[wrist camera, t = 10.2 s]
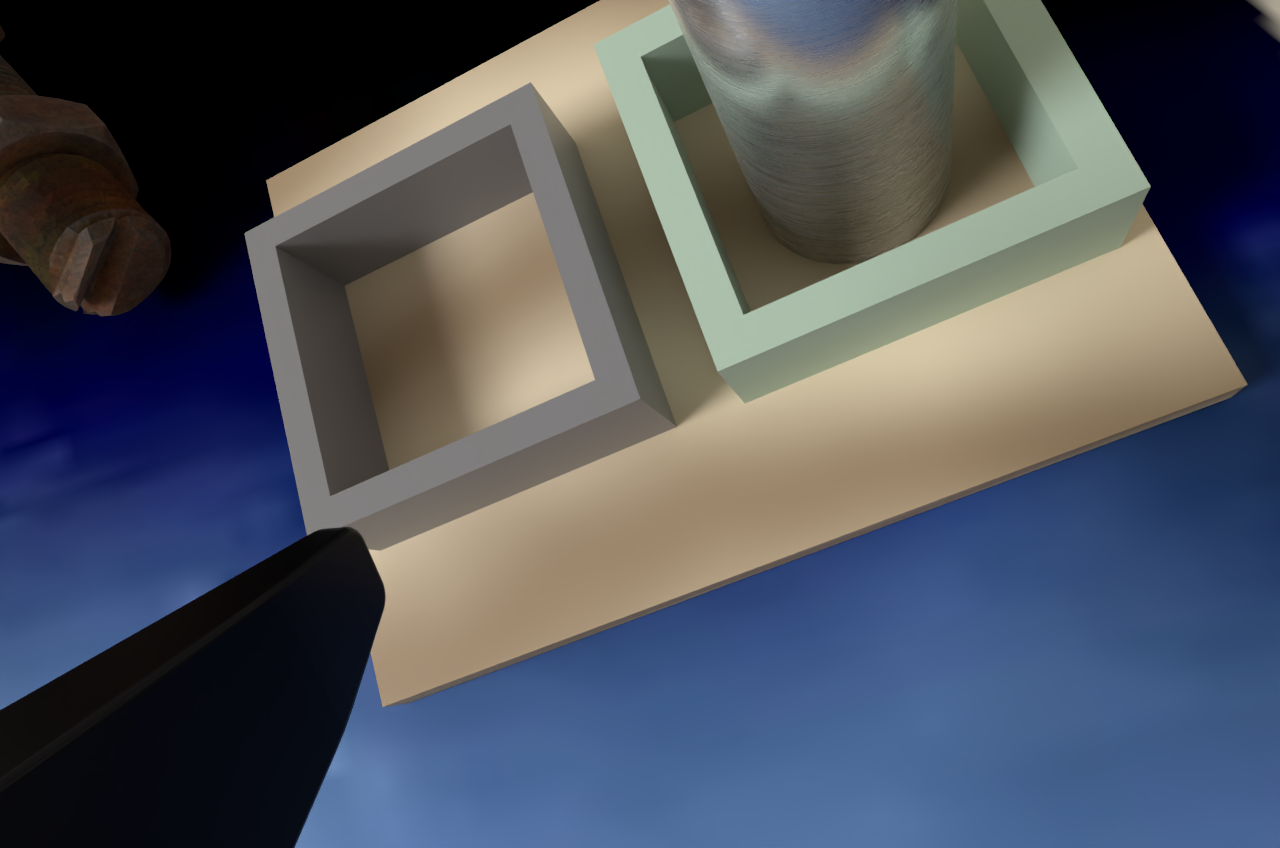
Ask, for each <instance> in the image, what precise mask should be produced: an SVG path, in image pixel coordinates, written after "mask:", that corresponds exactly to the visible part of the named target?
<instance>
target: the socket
mask: <svg viewBox="0 0 1280 848" xmlns="http://www.w3.org/2000/svg"><path fill="white" fill-rule="evenodd" d="M956 42H957V44H958V46H959V48H960V50H961V51H962V53H963V55H964V57H965V59H966V61H967V62H968V64H969V66H970V68H971V70H972V72H973V74H974V75H975V77H976V79H977V81H978V83H979V85H980V86H981V88H982V90H983V92H984V94H985V96H986V98H987V99H988V101H989V103H990V105H991V107H992V109H993V110H994V112H995V114H996V116H997V118H998V120H999V122H1000V123H1001V125H1002V127H1003V129H1004V131H1005V133H1006V134H1007V136H1008V138H1009V140H1010V142H1011V144H1012V146H1013V147H1014V149H1015V151H1016V153H1017V155H1018V157H1019V158H1020V160H1021V162H1022V164H1023V166H1024V168H1025V169H1026V171H1027V173H1028V175H1029V177H1030V179H1031V181H1032V182H1033V184H1034V186H1035V187H1034V188H1031V189H1029V190H1027V191H1025V192H1022V193H1020V194H1018V195H1016V196H1013V197H1011V198H1009V199H1006V200H1004V201H1002V202H1000V203H997V204H995V205H993V206H990V207H988V208H986V209H984V210H981V211H979V212H977V213H975V214H972V215H970V216H968V217H965V218H963V219H961V220H959V221H956V222H954V223H952V224H949V225H947V226H945V227H943V228H940V229H938V230H936V231H934V232H931V233H929V234H927V235H924V236H922V237H920V238H918V239H915V240H913V241H911V242H908V243H906V244H904V245H902V246H899V247H897V248H895V249H893V250H890V251H888V252H886V253H883V254H881V255H879V256H877V257H874V258H872V259H870V260H867V261H865V262H863V263H861V264H858V265H856V266H854V267H851V268H849V269H847V270H845V271H842V272H840V273H838V274H836V275H833V276H831V277H829V278H826V279H824V280H822V281H820V282H817V283H815V284H813V285H810V286H808V287H806V288H804V289H801V290H799V291H797V292H795V293H792V294H790V295H788V296H785V297H783V298H781V299H779V300H776V301H774V302H772V303H769V304H767V305H765V306H763V307H760V308H758V309H756V310H754V311H751V312H750V309H749V307H748V305H747V302H746V300H745V297H744V295H743V292H742V290H741V287H740V285H739V282H738V280H737V277H736V275H735V272H734V270H733V267H732V265H731V262H730V260H729V257H728V255H727V252H726V250H725V247H724V245H723V242H722V240H721V237H720V235H719V232H718V230H717V227H716V225H715V222H714V220H713V217H712V215H711V212H710V210H709V208H708V205H707V203H706V200H705V198H704V195H703V193H702V190H701V188H700V185H699V183H698V180H697V178H696V175H695V173H694V170H693V168H692V165H691V163H690V160H689V158H688V155H687V153H686V150H685V148H684V145H683V143H682V140H681V138H680V135H679V133H678V130H677V128H676V125H675V123H674V122H675V121H677V120H679V119H681V118H683V117H685V116H687V115H689V114H691V113H693V112H695V111H697V110H699V109H701V108H703V107H705V106H707V105H709V104H711V103H712V101H711V98H710V96H709V94H708V91H707V89H706V87H705V84H704V82H703V80H702V77H701V75H700V73H699V70H698V68H697V66H696V64H695V61H694V59H693V57H692V54H691V52H690V50H689V47H688V45H687V43H686V40H685V38H684V36H683V33H682V31H681V29H680V26H679V24H678V22H677V20H676V17H675V15H674V13H673V10H672V8H671V6H670V4H669V5H667V6H665V7H664V8H662V9H660V10H658V11H656V12H654V13H652V14H650V15H648V16H647V17H645V18H643V19H641V20H639V21H637V22H635V23H633V24H631V25H630V26H628V27H626V28H624V29H622V30H620V31H618V32H616V33H614V34H613V35H611V36H609V37H607V38H605V39H603V40H601V41H599V42H597V43H595V44H594V48H595V50H596V53H597V56H598V58H599V61H600V64H601V66H602V69H603V71H604V74H605V77H606V79H607V82H608V85H609V87H610V90H611V93H612V95H613V98H614V100H615V103H616V106H617V108H618V111H619V114H620V116H621V119H622V121H623V124H624V127H625V129H626V132H627V135H628V137H629V140H630V143H631V145H632V148H633V150H634V153H635V156H636V158H637V161H638V164H639V166H640V169H641V171H642V174H643V177H644V179H645V182H646V185H647V187H648V190H649V193H650V195H651V198H652V200H653V203H654V206H655V208H656V211H657V214H658V216H659V219H660V221H661V224H662V227H663V229H664V232H665V235H666V237H667V240H668V243H669V245H670V248H671V250H672V253H673V256H674V258H675V261H676V264H677V266H678V269H679V271H680V274H681V277H682V279H683V282H684V285H685V287H686V290H687V293H688V295H689V298H690V300H691V303H692V306H693V308H694V311H695V314H696V316H697V319H698V321H699V324H700V327H701V329H702V332H703V335H704V337H705V340H706V343H707V345H708V348H709V350H710V353H711V356H712V358H713V361H714V364H715V366H716V369H717V371H718V373H719V374H720V375H721V376H722V377H723V379H724V380H725V381H726V382H727V383H728V384H729V386H730V387H731V388H732V389H733V390H734V391H735V393H736V394H737V395H738V396H739V397H740V399H741V400H742V401H743V402H744V403H748V402H750V401H753V400H755V399H757V398H760V397H762V396H765V395H767V394H769V393H772V392H774V391H777V390H779V389H781V388H784V387H786V386H789V385H791V384H793V383H796V382H798V381H801V380H803V379H805V378H808V377H810V376H813V375H815V374H817V373H820V372H822V371H825V370H827V369H829V368H832V367H834V366H837V365H839V364H842V363H844V362H846V361H849V360H851V359H854V358H856V357H858V356H861V355H863V354H866V353H868V352H870V351H873V350H875V349H878V348H880V347H882V346H885V345H887V344H890V343H892V342H894V341H897V340H899V339H902V338H904V337H906V336H909V335H911V334H914V333H916V332H918V331H921V330H923V329H926V328H928V327H930V326H933V325H935V324H938V323H940V322H942V321H945V320H947V319H950V318H952V317H955V316H957V315H959V314H962V313H964V312H967V311H969V310H971V309H974V308H976V307H979V306H981V305H983V304H986V303H988V302H991V301H993V300H995V299H998V298H1000V297H1003V296H1005V295H1007V294H1010V293H1012V292H1015V291H1017V290H1019V289H1022V288H1024V287H1027V286H1029V285H1031V284H1034V283H1036V282H1039V281H1041V280H1043V279H1046V278H1048V277H1051V276H1053V275H1055V274H1058V273H1060V272H1063V271H1065V270H1068V269H1070V268H1072V267H1075V266H1077V265H1080V264H1082V263H1084V262H1087V261H1089V260H1092V259H1094V258H1096V257H1099V256H1101V255H1104V254H1106V253H1108V252H1111V251H1113V250H1116V249H1118V248H1120V247H1121V245H1122V243H1123V241H1124V239H1125V237H1126V235H1127V233H1128V231H1129V229H1130V227H1131V225H1132V223H1133V221H1134V219H1135V217H1136V215H1137V213H1138V211H1139V209H1140V207H1141V205H1142V203H1143V201H1144V199H1145V197H1146V195H1147V193H1148V191H1149V189H1150V187H1151V186H1150V184H1149V183H1148V181H1147V179H1146V178H1145V176H1144V174H1143V173H1142V171H1141V169H1140V167H1139V166H1138V164H1137V162H1136V161H1135V159H1134V157H1133V156H1132V154H1131V152H1130V150H1129V149H1128V147H1127V145H1126V144H1125V142H1124V140H1123V139H1122V137H1121V135H1120V134H1119V132H1118V130H1117V128H1116V127H1115V125H1114V123H1113V122H1112V120H1111V118H1110V117H1109V115H1108V113H1107V112H1106V110H1105V108H1104V106H1103V105H1102V103H1101V101H1100V100H1099V98H1098V96H1097V95H1096V93H1095V91H1094V90H1093V88H1092V86H1091V84H1090V83H1089V81H1088V79H1087V78H1086V76H1085V74H1084V73H1083V71H1082V69H1081V67H1080V66H1079V64H1078V62H1077V61H1076V59H1075V57H1074V56H1073V54H1072V52H1071V51H1070V49H1069V47H1068V45H1067V44H1066V42H1065V40H1064V39H1063V37H1062V35H1061V34H1060V32H1059V30H1058V29H1057V27H1056V25H1055V23H1054V22H1053V20H1052V18H1051V17H1050V15H1049V13H1048V12H1047V10H1046V8H1045V7H1044V5H1043V3H1042V1H1041V0H957V24H956Z"/></svg>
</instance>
